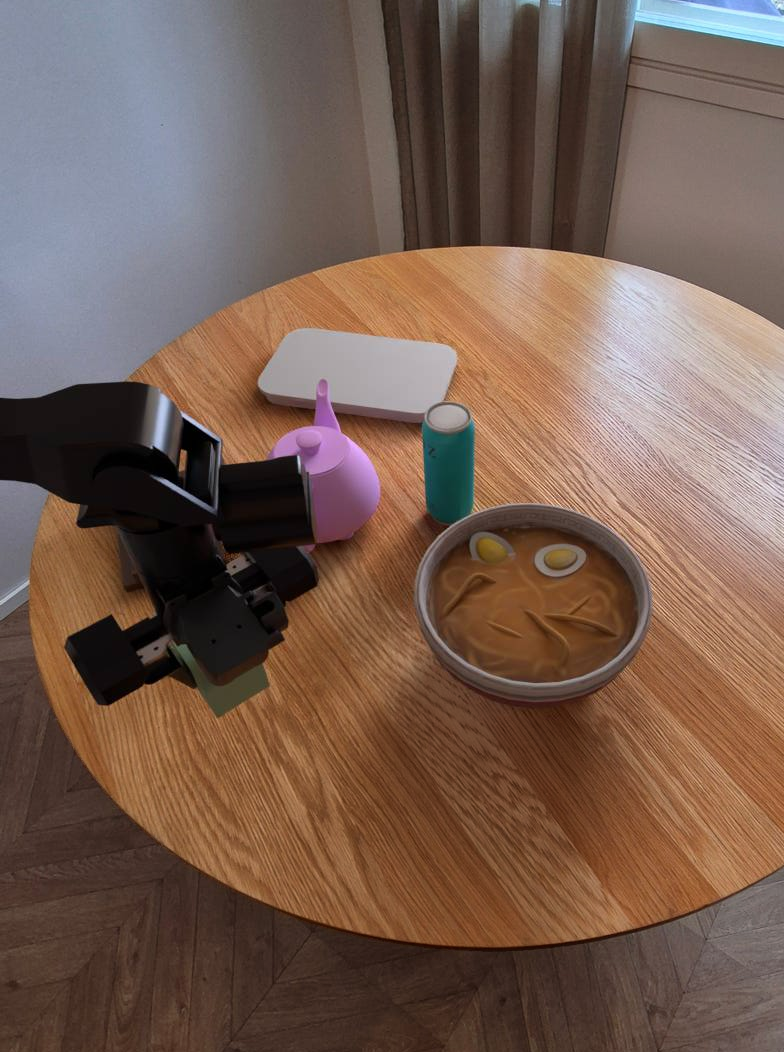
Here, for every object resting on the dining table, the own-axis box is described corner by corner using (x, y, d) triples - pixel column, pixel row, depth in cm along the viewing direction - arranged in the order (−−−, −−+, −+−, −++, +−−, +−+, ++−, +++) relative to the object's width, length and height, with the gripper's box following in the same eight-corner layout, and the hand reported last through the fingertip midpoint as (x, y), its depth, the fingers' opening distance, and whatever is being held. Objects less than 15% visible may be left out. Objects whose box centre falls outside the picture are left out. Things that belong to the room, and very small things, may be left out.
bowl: (498, 533, 93) (501, 471, 86) (674, 625, 85) (694, 565, 77) (372, 666, 81) (363, 607, 73) (564, 791, 72) (575, 738, 65)
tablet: (294, 338, 120) (291, 325, 118) (461, 359, 117) (461, 346, 115) (253, 404, 109) (250, 391, 107) (437, 429, 106) (436, 415, 104)
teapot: (283, 451, 103) (265, 375, 94) (391, 455, 102) (384, 378, 93) (247, 570, 89) (223, 494, 80) (372, 574, 89) (362, 498, 80)
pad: (217, 718, 66) (206, 693, 63) (179, 663, 69) (167, 637, 66) (270, 686, 68) (262, 660, 65) (231, 633, 71) (221, 607, 69)
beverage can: (461, 490, 98) (460, 393, 87) (481, 520, 95) (483, 424, 84) (418, 504, 96) (412, 407, 85) (438, 536, 93) (434, 439, 82)
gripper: (88, 697, 48) (159, 805, 60) (345, 553, 56) (364, 671, 68) (24, 586, 54) (101, 703, 65) (267, 469, 62) (297, 592, 74)
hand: (221, 667), depth 68 cm, fingers closed on pad, 5 cm apart
